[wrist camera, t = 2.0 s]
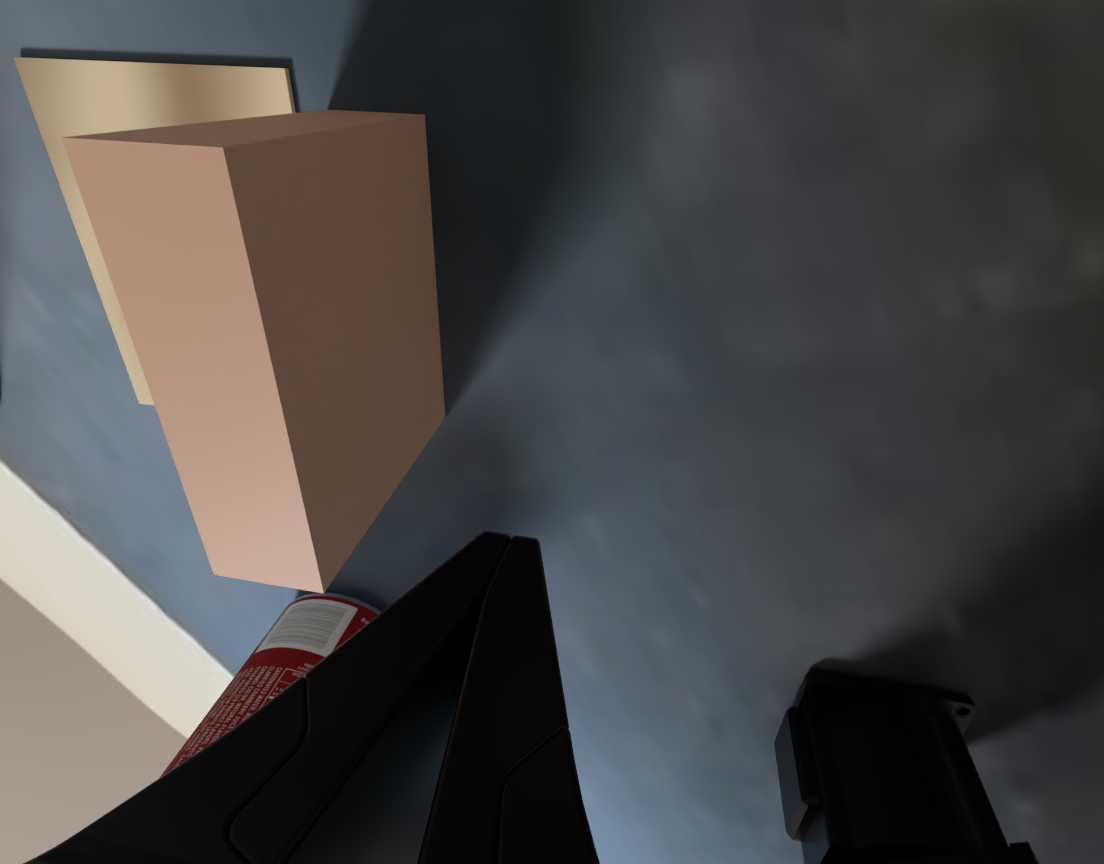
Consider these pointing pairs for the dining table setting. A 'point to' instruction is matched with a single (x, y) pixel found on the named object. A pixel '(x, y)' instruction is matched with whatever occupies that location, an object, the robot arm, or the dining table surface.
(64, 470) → the dining table surface
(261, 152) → the block
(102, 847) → the robot arm
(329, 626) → the soda can
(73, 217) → the tan wooden flat board
